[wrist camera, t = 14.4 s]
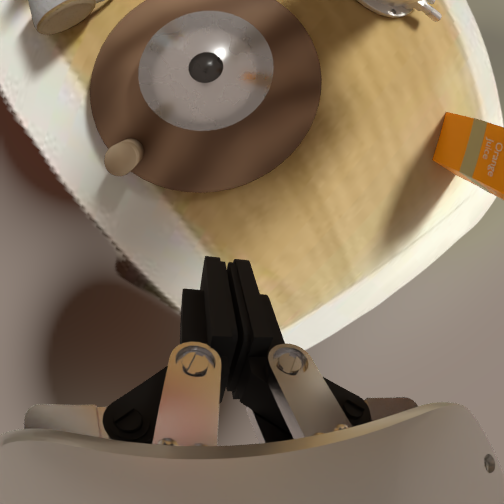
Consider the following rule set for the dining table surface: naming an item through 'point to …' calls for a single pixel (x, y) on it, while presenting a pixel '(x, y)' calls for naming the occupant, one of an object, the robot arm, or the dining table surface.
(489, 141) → the orange juice
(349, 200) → the dining table surface
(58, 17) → the ceramic mug
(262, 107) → the lazy susan
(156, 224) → the dining table surface
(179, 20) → the steel cover
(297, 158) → the dining table surface
